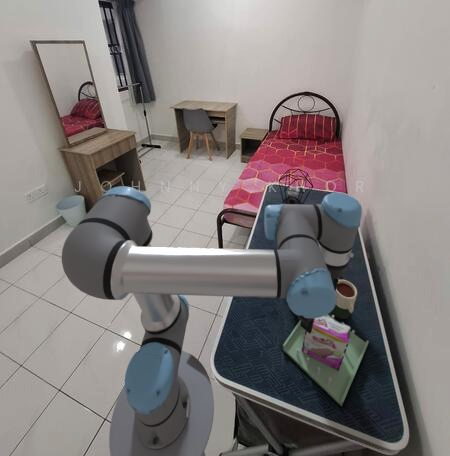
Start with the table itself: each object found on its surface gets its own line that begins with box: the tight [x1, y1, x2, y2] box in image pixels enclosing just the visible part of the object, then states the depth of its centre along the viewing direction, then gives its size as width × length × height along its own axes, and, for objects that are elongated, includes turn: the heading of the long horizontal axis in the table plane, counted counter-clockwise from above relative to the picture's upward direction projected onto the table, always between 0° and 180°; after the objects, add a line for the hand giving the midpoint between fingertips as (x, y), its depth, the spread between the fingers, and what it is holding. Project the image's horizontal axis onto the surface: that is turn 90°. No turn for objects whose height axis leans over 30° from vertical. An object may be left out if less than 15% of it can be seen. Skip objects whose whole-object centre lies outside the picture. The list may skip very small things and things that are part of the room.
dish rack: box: [282, 313, 370, 407], centre depth 77 cm, size 19×20×5 cm
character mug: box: [331, 279, 358, 320], centre depth 85 cm, size 11×7×13 cm, turn 4°
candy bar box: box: [302, 316, 351, 371], centre depth 72 cm, size 11×5×16 cm, turn 61°
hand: (318, 309), depth 65 cm, fingers open, 13 cm apart
